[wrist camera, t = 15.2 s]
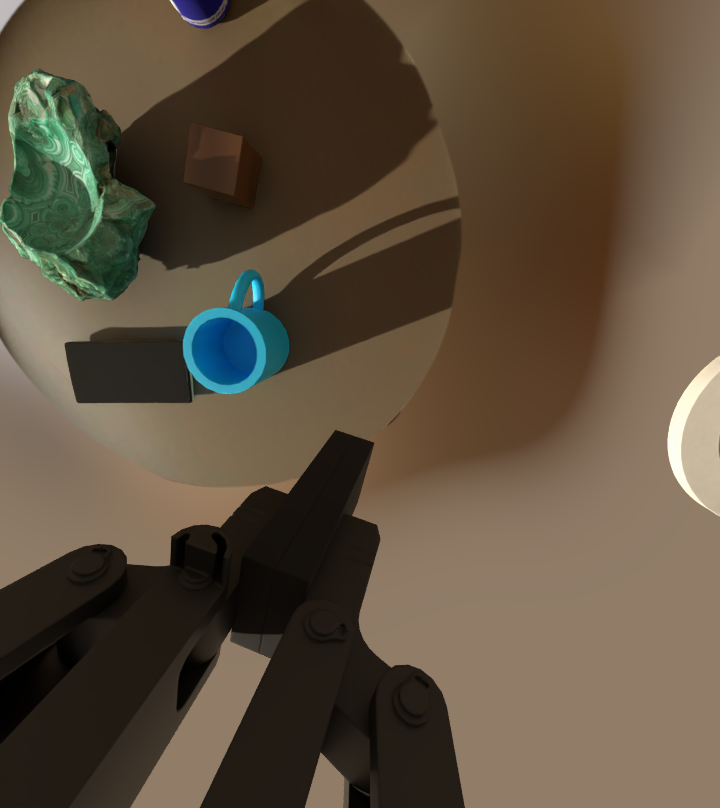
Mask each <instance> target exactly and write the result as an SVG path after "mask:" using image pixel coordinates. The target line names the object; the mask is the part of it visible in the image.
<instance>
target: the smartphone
mask: <svg viewBox="0 0 720 808" xmlns="http://www.w3.org/2000/svg"><path fill="white" fill-rule="evenodd" d="M65 350H66V356H67V362H68V367H69V372H70V376H71V381H72V385H73V389H74V393H75V397H76V401H77V403H191V402H193V400H194V391H193V379H192V373H191V372H190V371H189V369H188V367H187V364H186V361H185V358H184V356H183V340H135V341H84V342H67V343H65Z"/></svg>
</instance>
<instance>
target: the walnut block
mask: <svg viewBox="0 0 720 808" xmlns="http://www.w3.org/2000/svg"><path fill="white" fill-rule="evenodd" d="M261 158H262V157H261V156H260V155H259V154H258V153H257V152H256V150H255V149H254V148H253V147H252V146H251V145H250V144H249V143H248V141H247V140H246V139H245V138H244V137H243V136H240V135H236V134H233V133H229V132H225V131H221V130H217V129H213V128H210V127H206V126H202V125H198V124H194V123H190V130H189V138H188V146H187V154H186V163H185V171H184V179H183V182H184V183H185V184H187V185H189V186H190V187H192V188H194V189H195V190H197V191H199V192H201V193H202V194H204V195H206V196H207V197H210V198H213V199H217V200H221V201H225V202H228V203H232V204H236V205H240V206H243V207H247V208H251V209H253V206H254V200H255V194H256V188H257V182H258V176H259V170H260V164H261Z"/></svg>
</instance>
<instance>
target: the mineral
mask: <svg viewBox="0 0 720 808" xmlns="http://www.w3.org/2000/svg"><path fill="white" fill-rule="evenodd" d="M8 123H9V130H10V134H11V137H12V142H13V149H14V158H15V160H14V172H13V174H12V183H11V185H10V186H9V192H10V197H9V198H6V199H5V200H3V202H2V204H1V210H0V224H1V226H2V231H3V232H4V233H5V234H6V235H7V236H8V237H9V239H10V241H11V242H12V243H13V245H14V246H15V247H16V248H17V249H18V251H19V253H20V255H21V256H22V257H24V258H26V259H28V260H30V261H32V262H33V263H35V264H37V265H38V266H40V269H41V272H42V275H43V276H44V277H46V278H47V279H48V280H50V281H52V282H55V283H56V284H57V285H59V286H60V287H61V288H62V289H63V290H65V291H66V292H68V293H69V294H71V295H72V296H73V297H74V298H76V299H77V300H79V301H84V300H85V299H100V300H114V299H116V298H117V297H118V296H119V295H120V294H122V293H123V292H124V291H125V289H127V288H128V285H129V284H130V283H131V282H132V281H133V280H134V279H135V278H136V276H137V272H138V261H139V260H140V258H139V249H138V246H139V244H140V242H141V240H142V239H143V238H144V235H145V232H146V229H147V227H148V220H149V218H150V217H151V215H152V213H153V211H154V209H155V206H156V205H155V204H154V203H153V202H152V201H151V200H150V199H148V198H147V197H145V196H143V195H142V194H141V193H139V192H138V191H137V190H135V189H133V188H131V187H129V186H126V185H123V184H122V183H120V182H119V181H118V180H116V179H115V174H116V172H115V164H116V159H117V158H116V156H117V147H118V146H119V144H120V142H121V129H120V128H119V126H118V125H117V124H116V123H115V121H114V120H113V118H112V116H111V115H109V114H108V112H107V111H106V110H102V111H99V110H98V109H97V108H96V107H95V106H94V104H93V101H92V99H91V96H90V95H89V93H88V91H87V90H86V88H85V87H84V86H83V85H81V84H79V83H78V82H76V81H74V80H70V79H65V78H62V77H57V76H53V75H52V74H49V73H46V72H44V71H43V70H41V69H37V70H35V71H33V72H32V73H31V74H30V75H28V76H25V77H22V78H21V79H20V80H19V81H18V82H16V85H15V91H14V97H13V100H12V103H11V107H10V110H9V117H8Z"/></svg>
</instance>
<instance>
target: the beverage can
mask: <svg viewBox="0 0 720 808" xmlns="http://www.w3.org/2000/svg"><path fill="white" fill-rule="evenodd" d="M170 1H171V3H172V4H173V5H174V7H175V8H176V9H177V11H178V12H179V14H180V15H181V17H182V18H183V19H184V20H185V21H186V22H187V23H189V24H190V25H192V26H194V27H197V28H210V27H213V26H215V25H216V24H218V23H219V22H220V21H221V20H222V19H223V17H224V16H225V14H226V13H227V10H228V8H229V4H230V0H170Z"/></svg>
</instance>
